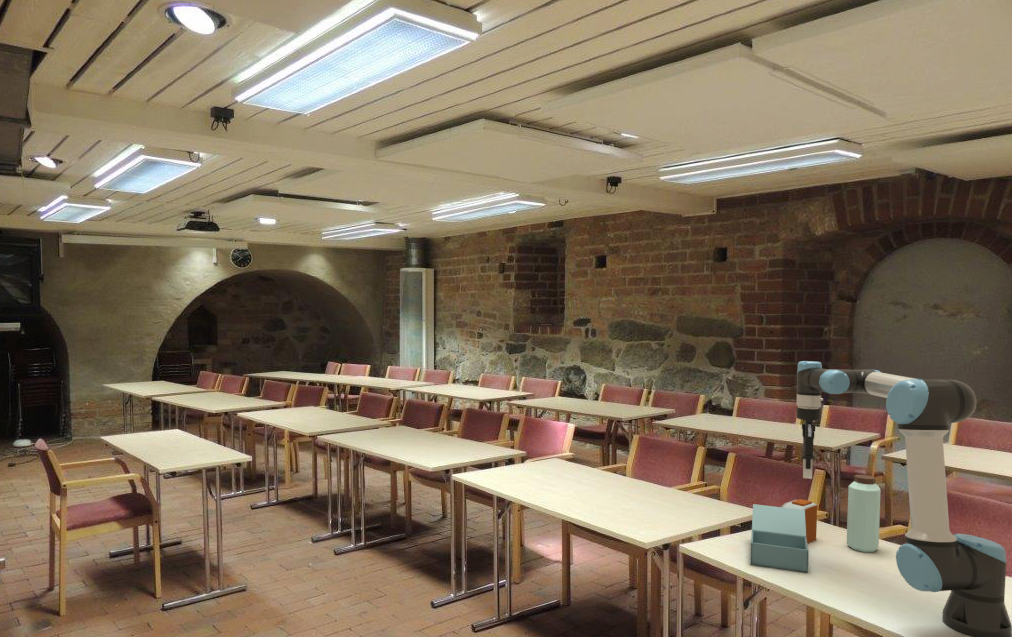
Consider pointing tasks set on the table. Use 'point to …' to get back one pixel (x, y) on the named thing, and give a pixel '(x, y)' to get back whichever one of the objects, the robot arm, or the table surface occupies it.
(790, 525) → the lid
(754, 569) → the table surface
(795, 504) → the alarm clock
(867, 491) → the water bottle
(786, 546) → the grey-green open box
